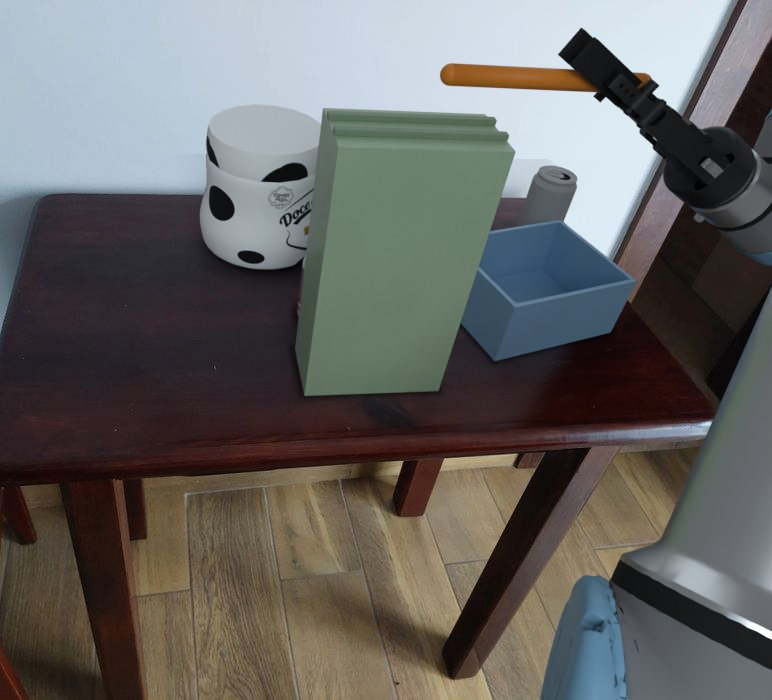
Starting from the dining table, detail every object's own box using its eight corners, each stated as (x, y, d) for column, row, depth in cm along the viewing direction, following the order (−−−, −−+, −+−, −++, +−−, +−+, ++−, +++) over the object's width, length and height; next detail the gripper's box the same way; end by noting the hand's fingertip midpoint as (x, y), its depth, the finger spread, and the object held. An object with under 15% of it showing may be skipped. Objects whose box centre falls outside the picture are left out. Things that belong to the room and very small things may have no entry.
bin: (610, 332, 91) (637, 281, 85) (494, 361, 84) (515, 307, 79) (540, 269, 101) (560, 219, 95) (431, 290, 94) (446, 238, 89)
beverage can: (550, 259, 104) (579, 188, 96) (509, 247, 105) (533, 177, 97) (554, 239, 108) (582, 170, 100) (514, 228, 109) (538, 159, 101)
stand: (420, 346, 85) (487, 107, 65) (438, 391, 79) (518, 145, 59) (294, 349, 82) (323, 101, 62) (304, 396, 76) (339, 139, 56)
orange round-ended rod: (640, 90, 62) (649, 70, 61) (650, 97, 61) (659, 77, 60) (435, 80, 59) (440, 59, 58) (441, 88, 58) (446, 67, 56)
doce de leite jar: (328, 282, 93) (346, 161, 81) (201, 282, 90) (200, 157, 78) (310, 216, 106) (323, 103, 94) (198, 215, 103) (197, 98, 91)
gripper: (728, 243, 66) (581, 119, 54) (649, 171, 77) (513, 55, 65) (800, 183, 62) (659, 37, 51) (707, 116, 73) (573, -17, 61)
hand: (577, 47), depth 58 cm, fingers closed on orange round-ended rod, 2 cm apart
